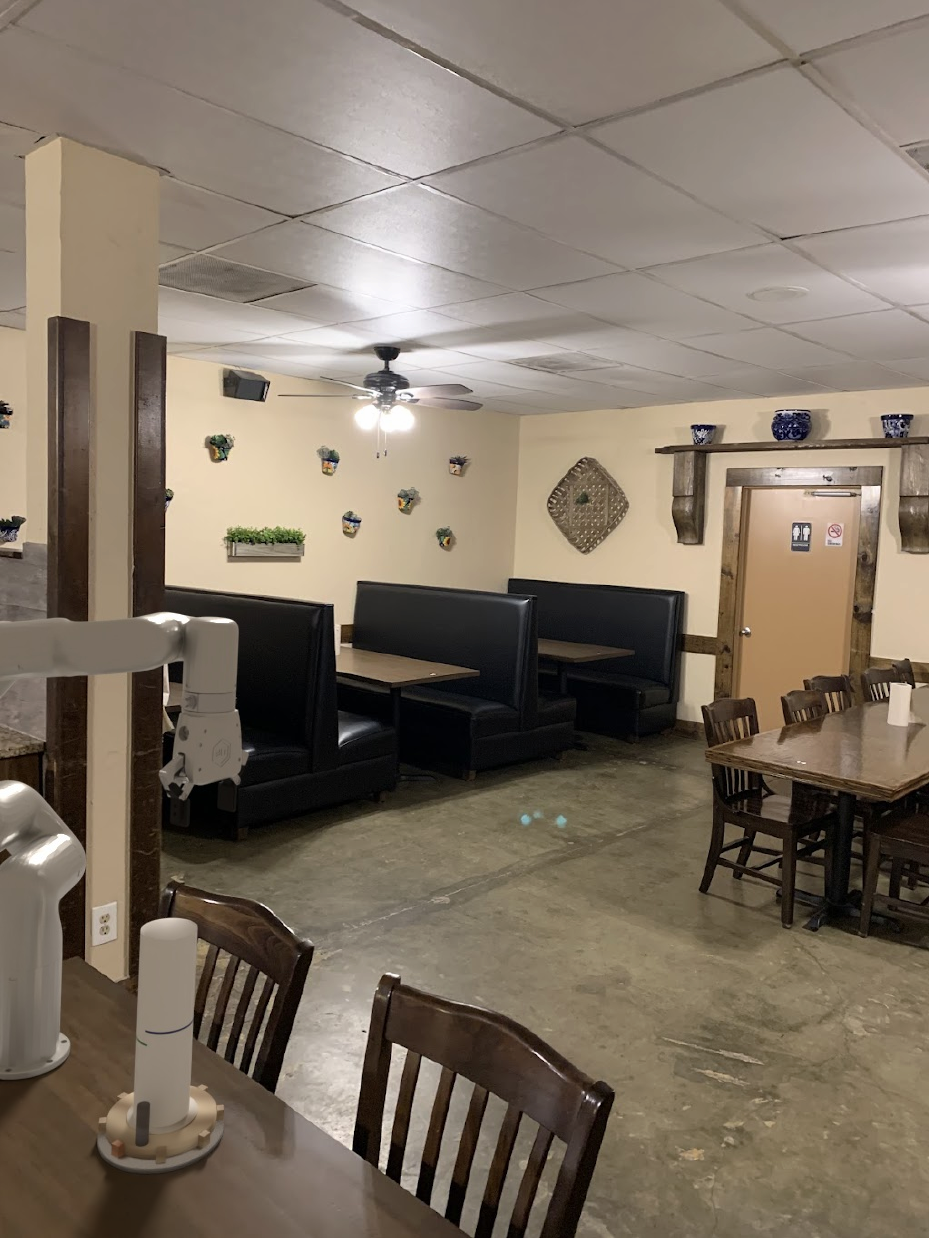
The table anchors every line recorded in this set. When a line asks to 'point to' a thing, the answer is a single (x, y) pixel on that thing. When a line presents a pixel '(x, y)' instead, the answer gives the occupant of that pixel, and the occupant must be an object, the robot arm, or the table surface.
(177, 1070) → the cylindrical container
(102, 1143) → the dial base
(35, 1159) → the table surface
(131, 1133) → the dial
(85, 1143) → the table surface
